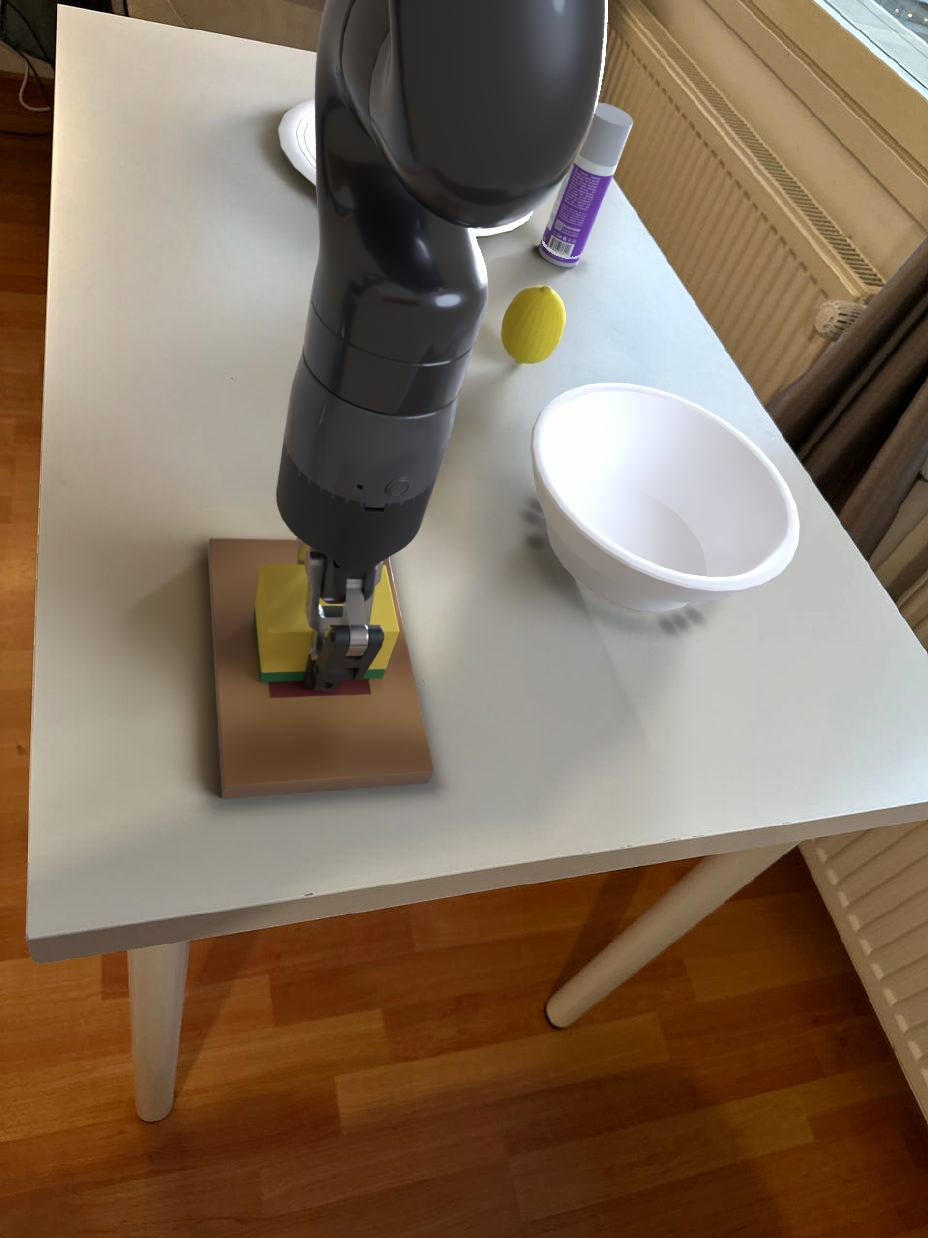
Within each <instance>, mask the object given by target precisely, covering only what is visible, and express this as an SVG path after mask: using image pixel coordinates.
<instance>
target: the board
mask: <svg viewBox="0 0 928 1238" xmlns="http://www.w3.org/2000/svg"><path fill="white" fill-rule="evenodd" d="M297 557H298V551H297V539H269V538H266V539H263V538H262V539H261V538H222V537H221V538H217V537H216V538H215V537H213V538H212V537H210V538H208V545H207V562H208V579H209V596H210V613H211V631H212V649H213V651H212V652H213V665H214V666H213V667H214V680H215V683H214V684H215V698H216V700H215V701H216V717H217V718H216V719H217V720H216V721H217V737H218V751H219V768H220V786H221V787H220V788H221V789H220V790H221V798H222V799H234V798H235V799H236V798H246V797H260V796H274V795H283V794H284V795H286V794H287V795H288V794H301V793H302V794H303V793H314V792H327V791H338V790H339V791H340V790H353V789H354V790H355V789H367V788H381V787H392V786H405V785H406V786H407V785H419V784H428V783H430V781H431V778H432V777H433V775H434V773H435V770H434V769H435V768H434V765H433V759H432V755H431V749H430V745H429V740H428V736H427V731H426V728H425V727H426V726H425V722H424V717H423V712H422V706H421V701H420V697H419V693H418V687H417V684H416V678H415V674H414V669H413V664H412V660H411V655H410V650H409V645H408V640H407V635H406V631H405V626H404V622H403V616H402V611H401V608H400V603H399V598H398V593H397V588H396V583H395V579H394V574H393V570H392V569H393V568H392V564H391V560H390V559H391V558H390V557H388V558H387V559H385V560H384V561H383V565H385V566H386V569H387V574H388V579H389V584H390V588H391V593H392V598H393V603H394V608H395V613H396V617H397V622H398V627H399V633H398V636H397V639H396V642H395V644H394V647H393V650H392V653H391V656H390V658H389V661H388V664H387V667H386V670H385V673H384V676H383V678H372V679H362V680H352V679H343V681H342V684H341V686H339V687H338V689H337V690H331V691H313V689H307V688H306V687H305V684H304V681H282V682H260V680H259V669H258V659H257V648H256V637H255V626H254V608H255V601H256V594H257V587H258V580H259V573H260V565H261V564H297Z"/></svg>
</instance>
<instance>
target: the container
mask: <svg viewBox="0 0 928 1238" xmlns="http://www.w3.org/2000/svg"><path fill="white" fill-rule="evenodd" d="M633 124H634V119H633V118H632V116H631V115H630V114H628V113H627V112H626V111H624V110H623V109H622V108H619V107H617V106H615V105H612V104H609V103H604V102H597V106H596V110H595V113H594V116H593V120H592V123H591V126H590V129H589V132H588V135H587V137H586V140H585V142H584V144H583V147H582V149H581V151H580V153H579V155H578V157H577V159H576V161H575V162H574V164H573V166H572V168H571V170H570V171H569V173H568V174H567V176H566V177H565V179H564V180H563V181H562V183H561V184H560V186H559V189H558V193H557V196H556V198H555V200H554V204H553V206H552V209H551V212H550V215H549V217H548V221H547V223H546V226H545V229H544V232H543V234H542V237H543V241H544V242H545V244H546V245H547V247H549V248H550V249H552V250H553V251H555V252H556V253H559V254H561V255H564V256H567V257H572V256H573V257H575V256H578V255H580V254H581V253H582V254H583V252H584V250H585V247H586V245H587V242H588V240H589V237H590V235H591V232H592V230H593V227H594V226H595V222H596V219H597V217H598V215H599V213H600V210H601V207H602V205H603V202H604V200H605V198H606V195H607V193H608V190H609V189H610V185H611V183H612V180H613V178H614V175H615V172H616V169H617V168H618V167H617V166H618V165H619V162H620V160H621V156H622V153H623V151H624V149H625V145H626V143H627V140H628V138H629V135H630V132H631V130H632V127H633ZM538 252H539V254H540V255H541V257H542V258H543V259H544V260H546V261H547V262H549V263H551V264H552V265H555V266H559V267H563V268H573V267H576V266H577V265H578V264H579V262H580V260H581V257H582V255H581V256H580V257H579V258H577V259H565V258H562V257H559V256H556V255H554V254H552V253H551V252H549V251H548V250H547V249H546V248H545V247H544V246H543V244H542V239H541V240H540V243H539V246H538Z"/></svg>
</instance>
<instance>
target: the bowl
mask: <svg viewBox="0 0 928 1238" xmlns="http://www.w3.org/2000/svg"><path fill="white" fill-rule="evenodd" d="M530 452H531V453H530V454H531V463H532V471H533V480H534V485H535V492H536V497H537V501H538V503H539V505H540V508H541V509H542V512H543V515H544V517H545V518H546V522H545V523H546V524H545V526H546V532H547V538H548V541H549V543H550V546H551V548H552V550H553V553H554V554H555V556H556V557H557V559H558V560H559V562H560V563H561V565H562V566H563V568H565V570H566V571H567V572H568V573H569V574H570V575H571V576H572V577H573V578H574V580H576V581H578V582H579V583H580V584H581V585H582V586H584V587H585V588H586V589H587V590H589V591H591V592H592V593H593V594H595V595H597V596H599V597H600V598H602V599H604V600H606V601H609V602H611V603H613V604H616V605H618V606H621V607H624V608H627V609H631V610H635V611H642V612H649V613H650V612H651V613H657V612H658V613H659V612H669V611H674V610H676V609H680V608H683V607H684V606H686V605H688V604H690V603H691V604H692V603H693V604H694V603H710V602H714V601H719V600H722V599H726V598H729V597H732V596H734V595H737V594H740V593H742V592H745V591H748V590H750V589H752V588H756V587H759V586H761V585H764V584H765V583H766V582H768V581H770V580H772V579H773V578H775V577H777V576H778V575H780V574H781V573H782V572H783V571H784V570H785V568H786V567H788V565H789V564H790V563H791V562H792V560H793V558H794V555H795V553H796V550H797V549H798V545H799V537H800V525H801V524H800V519H799V514H798V508H797V504H796V502H795V500H794V498H793V495H792V493H791V491H790V488H789V486H788V484H787V482H786V481H785V480H784V478H783V476H782V475H781V473H780V472H779V470H778V468H777V467H776V466H775V465H774V463H772V461H771V460H770V459H769V458H768V456H766V454H765V453H764V452H763V451H762V450H761V449H760V448H759V447H758V446H757V445H756V444H755V443H754V442H753V441H751V440H750V439H749V438H748V437H747V436H746V435H745V434H744V433H743V432H741V431H740V430H739V429H737V428H735V426H733V425H731V423H729V422H727V421H726V420H724V419H723V418H721V417H720V416H718V415H716V414H714V413H713V412H711V411H709V410H707V409H706V408H704V407H702V406H700V405H698V404H696V403H695V402H692V401H689V400H687V399H686V398H685V399H684V398H683V397H680V396H678V395H675V394H672V393H669V392H667V391H666V392H665V391H662V390H660V389H656V388H653V387H648V386H643V385H638V384H633V383H623V382H622V383H621V382H620V383H619V382H600V383H599V382H598V383H591V384H584V385H581V386H578V387H575V388H571V389H568V390H566V391H565V392H563V393H561V394H559V395H557V396H556V397H554V398H553V399H551V400H550V401H549V402H548V404H547V405H545V407H544V408H542V410H541V411H540V412H539V414H538V415H537V417H536V420H535V422H534V424H533V427H532V429H531V439H530Z"/></svg>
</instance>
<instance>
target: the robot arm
mask: <svg viewBox="0 0 928 1238" xmlns="http://www.w3.org/2000/svg"><path fill="white" fill-rule="evenodd" d="M607 23H608V0H325V3H324V7H323V11H322V15H321V22H320V25H319V26H320V27H319V32H318V37H317V46H316V54H315V70H314V72H315V73H314V74H315V75H314V98H315V156H316V187H315V193H316V207H317V220H318V241H319V243H318V255H317V256H318V257H317V262H316V268H315V271H314V274H313V275H314V276H313V281H312V285H311V292H310V299H309V304H308V310H307V311H308V312H307V317H306V325H305V332H304V339H303V344H302V348H301V349H302V350H301V354H300V358H299V361H298V363H297V367H296V370H295V373H294V376H293V380H292V383H291V388H290V394H289V398H288V399H289V400H288V406H287V413H286V420H285V427H284V434H283V440H282V448H281V456H280V462H279V469H278V474H277V475H278V476H277V484H276V490H275V491H276V492H275V501H276V507H277V509H278V513H279V515H280V517H281V519H282V521H283V523H284V525H286V527H287V528H288V530H289V531H290V532H291V533H292V534H293V535H294V536H295V537H296V540H297V551H298V557H297V564H303V565H304V566H305V571H306V575H307V578H308V585H307V595H306V605H305V613H306V617H307V621H308V625H309V627H310V628H312V635H311V645H309V656H308V661H307V665H306V669H305V674H304V684H305V687H306V688H307V689H313V691H331V690H337V689H338V687H339V686H341V684H342V681H343V679H352V680H362V678H363V677H364V675H365V673H366V672H367V670H368V669H369V667H370V665H371V664H372V662H373V661H374V659H375V657H376V656H377V654H378V653H379V651H380V649H381V648H382V645H383V641H384V632H383V630H382V626H381V625H374V624H369V623H370V619H371V612H372V605H373V598H374V591H375V586H376V585H377V584H378V583H379V582H380V580H381V575H382V568H383V561H384V560H385V559H387V558H388V557H389V558H390V557H392V556H393V555H395V554H397V553H399V552H400V551H402V550H403V549H405V548H406V547H407V546H408V545H409V544H410V543H412V541H413V540H414V539H415V538H416V536H417V535H418V533H419V531H420V530H421V527H422V523H423V520H424V517H425V514H426V511H427V508H428V505H429V502H430V499H431V496H432V493H433V491H434V487H435V484H436V482H437V478H438V475H439V472H440V469H441V466H442V463H443V460H444V457H445V454H446V452H447V449H448V446H449V443H450V440H451V436H452V433H453V430H454V425H455V419H456V415H457V406H458V401H459V396H460V393H461V388H462V386H463V382H464V379H465V376H466V373H467V371H468V367H469V364H470V361H471V359H472V355H473V351H474V349H475V346H476V343H477V340H478V337H479V334H480V331H481V328H482V324H483V321H484V317H485V313H486V310H487V309H486V308H487V304H488V297H489V278H488V277H489V276H488V271H487V266H486V263H485V260H484V257H483V255H482V252H481V249H480V246H479V243H478V241H477V238H476V237H475V234H474V231H473V229H489V228H496V227H500V226H504V225H508V224H510V223H513V222H515V221H517V220H519V219H521V218H523V217H525V216H527V215H528V214H530V213H531V212H533V211H536V210H537V209H538V208H540V206H542V205H543V204H544V203H545V202H546V201H547V200H548V199H549V198H550V197H551V196H552V195H553V194H554V193H555V191H556V190H557V189H558V188H559V187H560V186H561V184H562V181H563V180H564V179H565V177H566V176H567V174H568V173H569V171H570V170H571V168H572V166H573V164H574V162H575V161H576V159H577V157H578V155H579V153H580V151H581V149H582V147H583V144H584V142H585V140H586V137H587V135H588V132H589V129H590V126H591V123H592V120H593V116H594V113H595V110H596V106H597V103H599V102H598V101H599V97H600V92H601V85H602V79H603V75H604V69H605V68H604V67H605V57H606V46H607V28H608V27H607V26H608V24H607ZM533 213H534V212H533ZM320 598H321V599H322V600H323V601H324V602H326V603H328V604H343V606H322V605H319V604H320ZM326 630H327V631H328V636H327V638H324V634H325V631H326Z"/></svg>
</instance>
